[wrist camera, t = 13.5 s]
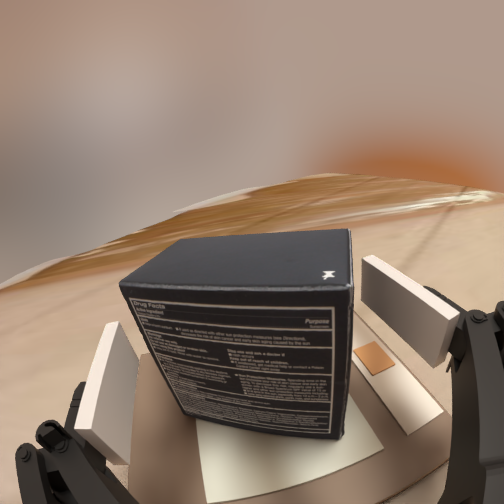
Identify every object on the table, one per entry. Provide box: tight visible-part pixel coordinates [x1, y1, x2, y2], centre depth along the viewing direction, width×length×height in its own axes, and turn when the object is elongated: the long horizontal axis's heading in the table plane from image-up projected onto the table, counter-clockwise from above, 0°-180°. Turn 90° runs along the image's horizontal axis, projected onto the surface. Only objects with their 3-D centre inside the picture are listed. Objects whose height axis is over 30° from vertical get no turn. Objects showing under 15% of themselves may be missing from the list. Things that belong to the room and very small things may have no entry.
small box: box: [119, 229, 354, 440], centre depth 15 cm, size 11×6×10 cm, turn 72°
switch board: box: [128, 310, 452, 504], centre depth 16 cm, size 20×18×2 cm
